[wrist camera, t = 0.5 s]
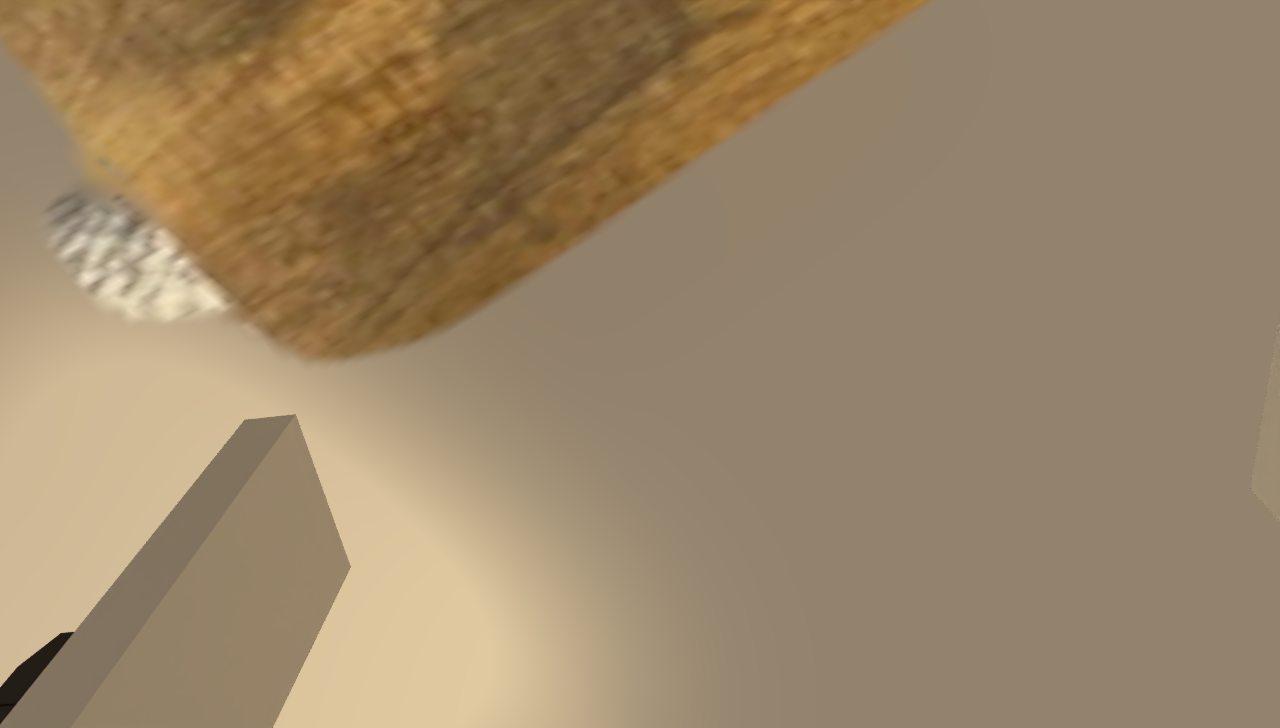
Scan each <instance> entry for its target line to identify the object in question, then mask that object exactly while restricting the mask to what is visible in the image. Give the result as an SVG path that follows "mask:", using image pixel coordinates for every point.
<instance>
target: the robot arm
mask: <svg viewBox="0 0 1280 728" xmlns="http://www.w3.org/2000/svg"><path fill="white" fill-rule="evenodd" d="M1250 489H1251V490H1252V491H1253V492H1254V493H1255V495H1256V496H1257V497H1258V498H1259V499H1260V500H1261V501H1262V502H1263V504H1264V505H1265V506H1266V507H1267V508H1268V509H1269V510H1270V512H1271V513H1272V514H1273V515H1274V516H1275V517H1276V518H1277V520H1278V521H1279V522H1280V317H1279V323H1278V329H1277V335H1276V341H1275V347H1274V353H1273V359H1272V365H1271V370H1270V376H1269V382H1268V388H1267V394H1266V400H1265V406H1264V411H1263V417H1262V423H1261V429H1260V435H1259V442H1258V447H1257V453H1256V459H1255V464H1254V470H1253V477H1252V482H1251V488H1250ZM350 567H351V566H350V564H349V561H348V558H347V555H346V553H345V550H344V547H343V545H342V541H341V539H340V536H339V533H338V530H337V528H336V525H335V522H334V520H333V517H332V514H331V511H330V508H329V505H328V503H327V500H326V497H325V494H324V492H323V489H322V486H321V483H320V481H319V478H318V475H317V473H316V470H315V467H314V464H313V461H312V458H311V456H310V453H309V450H308V447H307V445H306V442H305V439H304V436H303V433H302V431H301V428H300V425H299V422H298V420H297V417H296V415H286V416H276V417H267V418H258V419H248V420H244V421H243V423H242V424H241V425H240V426H239V428H238V429H237V430H236V431H235V433H234V434H233V435H232V436H231V438H230V439H229V440H228V441H227V443H226V444H225V445H224V446H223V448H222V449H221V450H220V451H219V453H218V454H217V455H216V456H215V458H214V459H213V460H212V461H211V463H210V464H209V465H208V466H207V468H206V469H205V470H204V471H203V473H202V474H201V475H200V476H199V478H198V479H197V480H196V481H195V483H194V484H193V485H192V486H191V487H190V489H189V490H188V491H187V493H186V494H185V495H184V496H183V498H182V499H181V500H180V501H179V503H178V504H177V505H176V506H175V508H174V509H173V510H172V511H171V512H170V514H169V515H168V516H167V517H166V519H165V520H164V522H162V524H161V525H160V526H159V527H158V529H157V530H156V531H155V532H154V534H153V535H152V536H151V537H150V539H149V540H148V541H147V542H146V544H145V545H144V546H143V548H142V549H141V550H140V551H139V552H138V554H137V555H136V556H135V557H134V559H133V560H132V561H131V562H130V563H129V565H128V566H127V567H126V568H125V570H124V571H123V572H122V573H121V575H120V576H119V577H118V578H117V580H116V581H115V582H114V583H113V585H112V586H111V587H110V588H109V590H108V591H107V592H106V593H105V595H104V596H103V597H102V598H101V600H100V601H99V602H98V603H97V605H96V606H95V607H94V608H93V610H92V611H91V612H90V613H89V615H88V616H87V617H86V618H85V620H84V621H83V622H82V623H81V625H80V626H79V627H78V628H77V630H76V631H75V632H68V633H60V634H59V635H58V636H57V637H55V638H54V639H53V640H52V641H50V642H49V643H48V644H46V645H45V646H44V647H43V648H41V649H40V650H39V651H38V652H36V653H35V654H34V655H32V656H31V657H30V658H28V659H27V660H26V661H25V662H23V663H22V664H21V665H19V666H18V667H17V668H16V669H15V671H14V672H13V673H12V674H11V675H10V677H9V678H8V679H7V680H6V681H5V682H4V684H3V685H2V686H1V687H0V728H273V726H274V724H275V722H276V720H277V718H278V716H279V714H280V711H281V709H282V707H283V705H284V703H285V701H286V699H287V697H288V695H289V693H290V691H291V689H292V687H293V684H294V683H295V681H296V679H297V676H298V674H299V672H300V670H301V668H302V666H303V664H304V662H305V660H306V658H307V656H308V654H309V652H310V650H311V648H312V645H313V644H314V641H315V640H316V637H317V635H318V633H319V631H320V629H321V627H322V625H323V623H324V621H325V619H326V617H327V615H328V613H329V611H330V609H331V607H332V605H333V602H334V600H335V598H336V596H337V594H338V592H339V590H340V588H341V586H342V584H343V582H344V580H345V578H346V576H347V574H348V571H349V570H350Z"/></svg>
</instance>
